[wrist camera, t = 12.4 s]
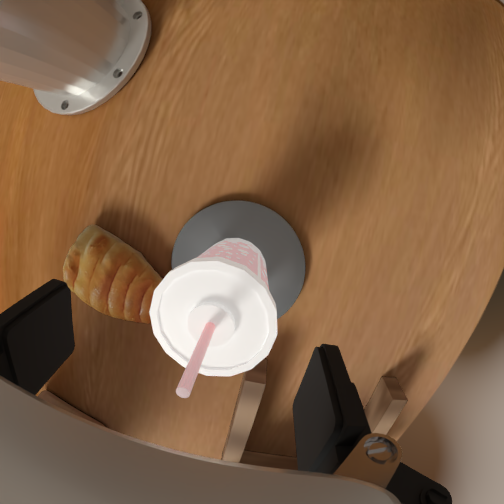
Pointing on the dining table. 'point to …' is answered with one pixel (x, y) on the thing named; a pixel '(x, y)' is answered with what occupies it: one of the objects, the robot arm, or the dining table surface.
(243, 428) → the rack
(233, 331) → the beverage cup
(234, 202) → the coaster
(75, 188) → the dining table surface
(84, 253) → the pastry
